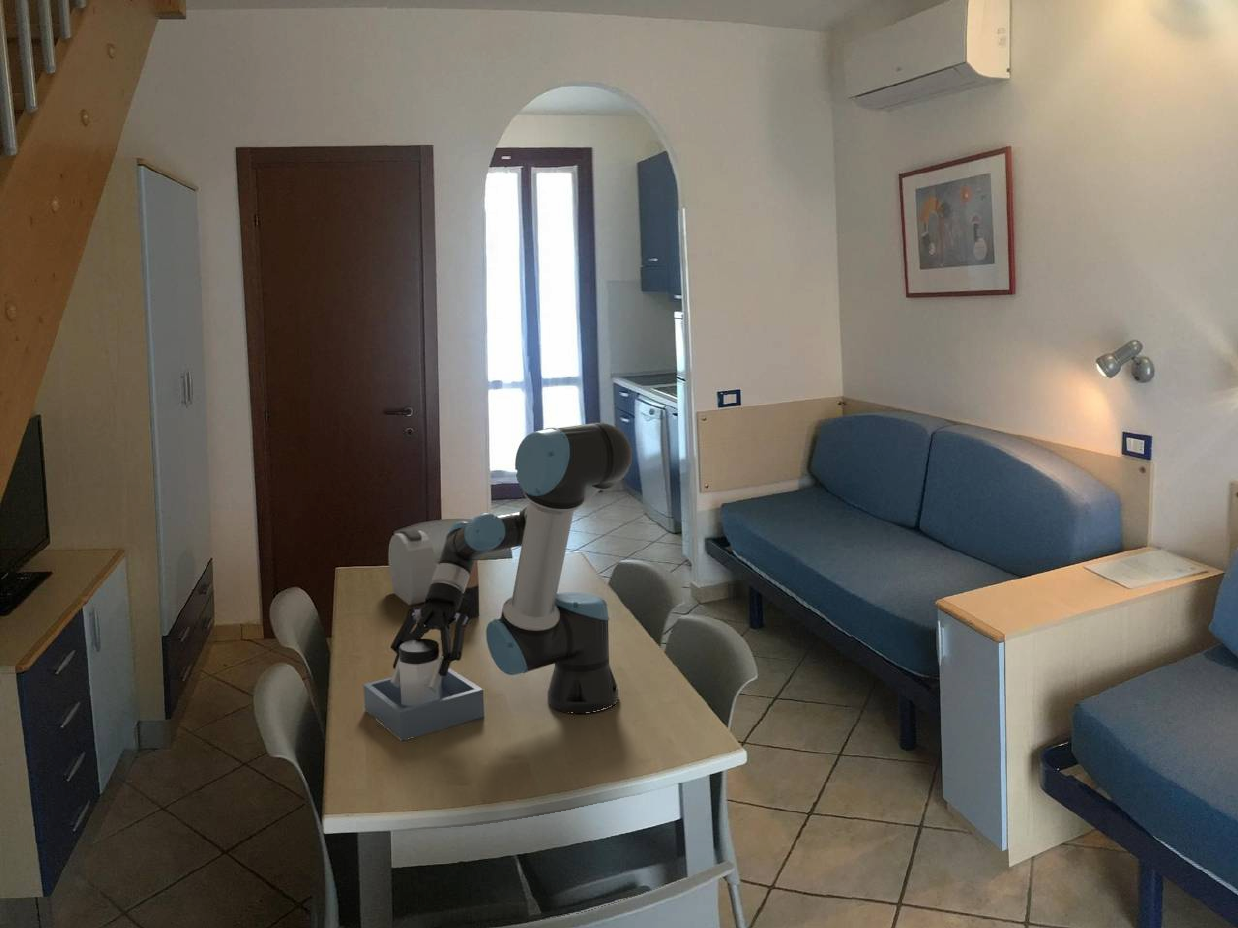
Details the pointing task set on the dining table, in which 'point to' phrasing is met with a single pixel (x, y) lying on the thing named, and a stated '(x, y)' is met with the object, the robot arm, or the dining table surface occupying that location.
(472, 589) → the travel mug
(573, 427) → the robot arm
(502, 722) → the dining table surface
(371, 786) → the dining table surface
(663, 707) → the dining table surface
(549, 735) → the dining table surface
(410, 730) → the bin
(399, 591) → the alarm clock
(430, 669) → the jar
